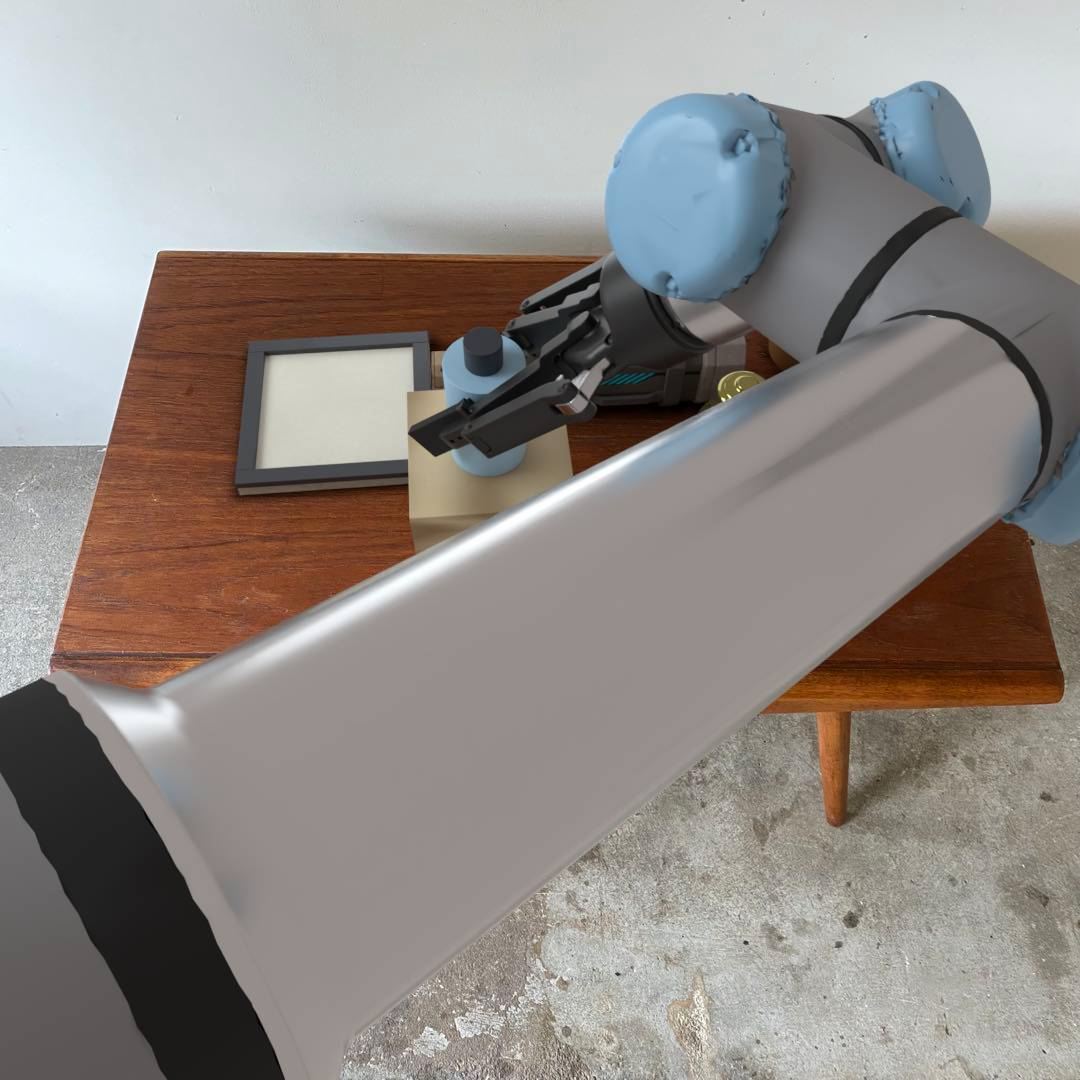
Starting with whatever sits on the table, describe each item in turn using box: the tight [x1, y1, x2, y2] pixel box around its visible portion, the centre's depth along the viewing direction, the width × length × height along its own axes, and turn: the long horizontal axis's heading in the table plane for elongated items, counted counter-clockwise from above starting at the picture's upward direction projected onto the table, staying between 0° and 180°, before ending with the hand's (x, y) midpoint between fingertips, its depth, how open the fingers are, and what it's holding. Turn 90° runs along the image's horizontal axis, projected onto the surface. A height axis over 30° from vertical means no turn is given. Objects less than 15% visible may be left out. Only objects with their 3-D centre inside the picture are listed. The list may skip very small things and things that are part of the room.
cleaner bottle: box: [442, 326, 526, 477], centre depth 67 cm, size 6×6×11 cm
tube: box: [430, 335, 747, 407], centre depth 93 cm, size 11×7×30 cm
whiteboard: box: [234, 330, 432, 496], centre depth 93 cm, size 18×18×2 cm
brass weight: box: [697, 370, 767, 414], centre depth 88 cm, size 7×8×10 cm
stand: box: [407, 389, 574, 555], centre depth 78 cm, size 12×12×16 cm
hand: (439, 409), depth 70 cm, fingers closed on cleaner bottle, 6 cm apart
